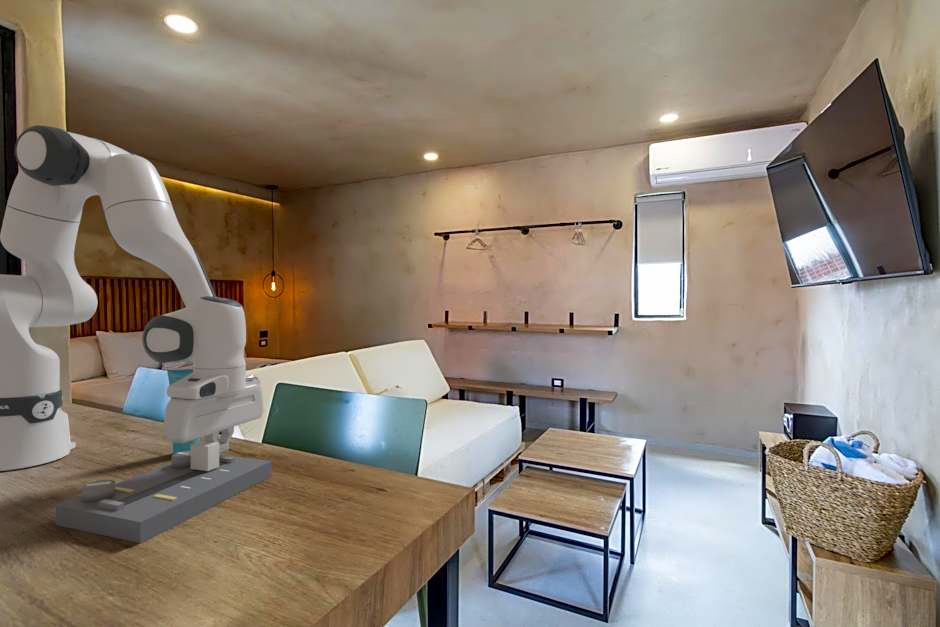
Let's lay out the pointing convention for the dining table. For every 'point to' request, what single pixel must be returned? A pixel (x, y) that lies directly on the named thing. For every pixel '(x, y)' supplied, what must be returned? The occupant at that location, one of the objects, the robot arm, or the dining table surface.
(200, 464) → the fader cap
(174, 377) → the tube
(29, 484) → the dining table surface
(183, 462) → the console
